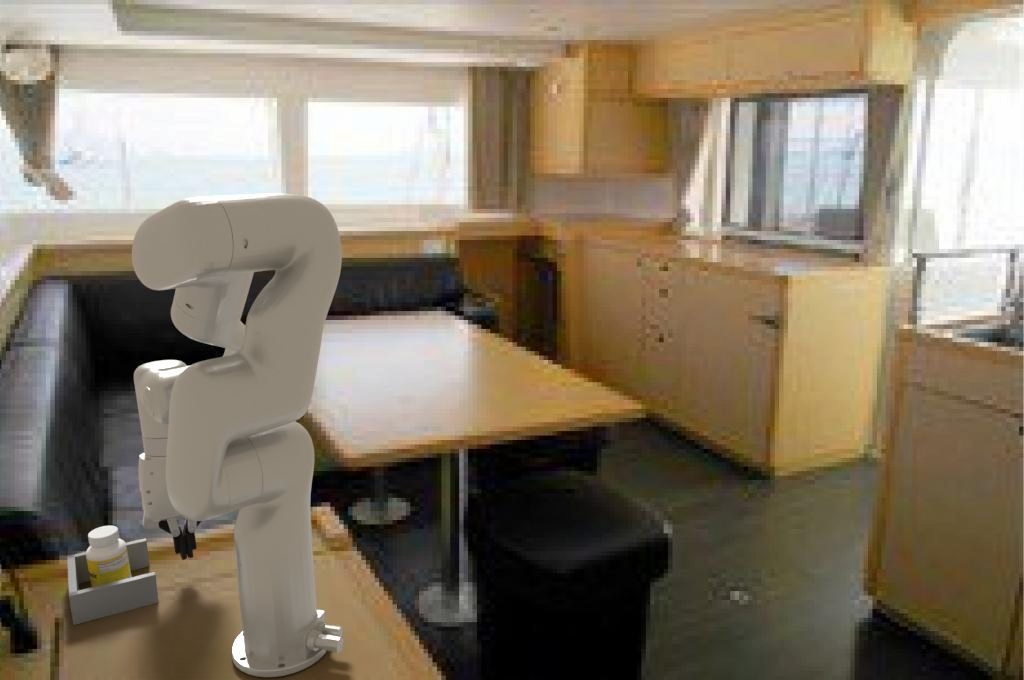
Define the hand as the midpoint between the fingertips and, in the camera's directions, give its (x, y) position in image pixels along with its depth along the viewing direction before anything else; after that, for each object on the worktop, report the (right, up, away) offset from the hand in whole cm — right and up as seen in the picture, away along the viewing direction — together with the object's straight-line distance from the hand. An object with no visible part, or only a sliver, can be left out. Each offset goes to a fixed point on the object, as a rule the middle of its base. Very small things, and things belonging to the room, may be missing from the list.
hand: (186, 555), depth 118 cm
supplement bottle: (-10, -5, -3) cm, 11 cm away
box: (-10, -5, -3) cm, 11 cm away
